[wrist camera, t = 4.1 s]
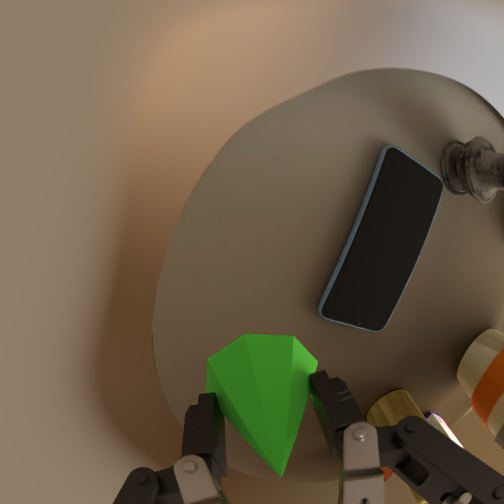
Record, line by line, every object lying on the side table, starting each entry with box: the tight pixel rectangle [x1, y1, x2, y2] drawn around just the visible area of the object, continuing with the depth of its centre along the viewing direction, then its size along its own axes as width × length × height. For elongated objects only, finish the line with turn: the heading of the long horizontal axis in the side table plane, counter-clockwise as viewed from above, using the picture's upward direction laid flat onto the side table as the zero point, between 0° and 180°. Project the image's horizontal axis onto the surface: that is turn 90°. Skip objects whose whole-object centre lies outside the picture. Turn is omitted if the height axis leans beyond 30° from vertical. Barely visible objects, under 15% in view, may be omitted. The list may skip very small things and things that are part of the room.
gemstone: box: [206, 334, 318, 478], centre depth 10 cm, size 6×6×6 cm
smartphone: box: [318, 145, 443, 332], centre depth 21 cm, size 7×1×15 cm
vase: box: [367, 390, 427, 504], centre depth 20 cm, size 6×6×14 cm
